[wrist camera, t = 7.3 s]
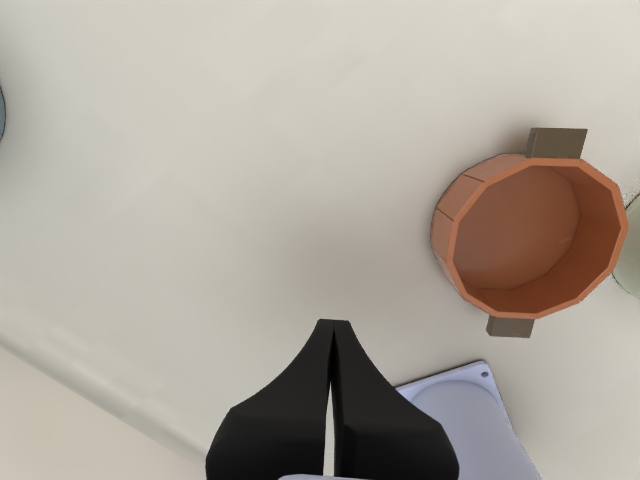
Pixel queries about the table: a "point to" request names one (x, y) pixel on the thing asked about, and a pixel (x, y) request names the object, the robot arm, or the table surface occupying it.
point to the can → (630, 253)
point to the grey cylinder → (2, 114)
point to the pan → (529, 231)
